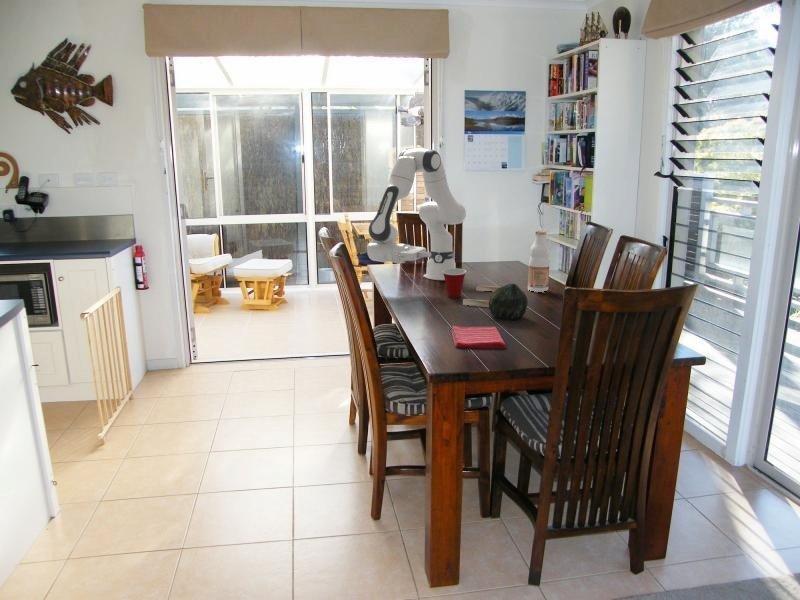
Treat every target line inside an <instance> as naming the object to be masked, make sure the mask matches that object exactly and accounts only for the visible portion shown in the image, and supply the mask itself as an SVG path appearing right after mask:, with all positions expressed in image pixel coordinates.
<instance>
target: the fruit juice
mask: <svg viewBox="0 0 800 600" xmlns="http://www.w3.org/2000/svg"><path fill="white" fill-rule="evenodd" d="M546 236H547V231H543V230H535V238H534V241H533V243H532V245H531V246H530V247H529V248H530V249H529V254H530V258H529V260H528V261H529V262H528V275H527V276H528V277H527V290H528V291H529V290H530V291H529V292H531V291H534V292H533V293H538V292H542V293H545V292H544V291H547V290H548V291H549V283H550V281H549V279H550V278H549V277H550V258H549V255H550V253H551V250H550V246H549V245H548V243H547V239H546ZM548 291H547V292H548Z"/></svg>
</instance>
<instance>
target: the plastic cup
mask: <svg viewBox="0 0 800 600" xmlns="http://www.w3.org/2000/svg"><path fill="white" fill-rule="evenodd" d="M442 272H443V274H444V278H445V280H444V282H445V289H446V295H447V297H448V298H453V297H456V298H460V297H461V295H462V290H463V284H464V281H465V276H466V273H467V270H466V269H464V268H458V267H456V268H450V269H445V270H443V271H442Z"/></svg>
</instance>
